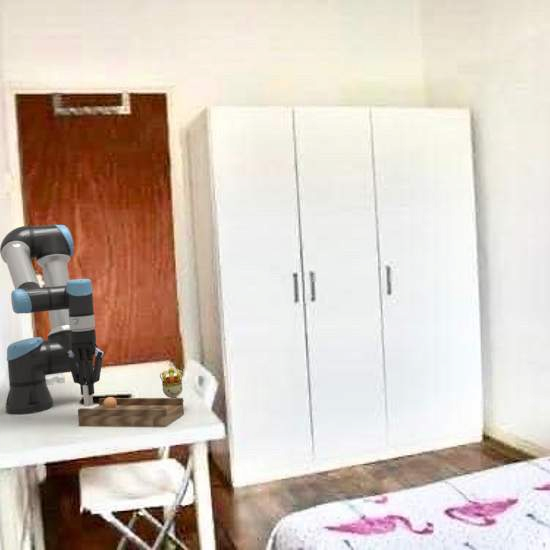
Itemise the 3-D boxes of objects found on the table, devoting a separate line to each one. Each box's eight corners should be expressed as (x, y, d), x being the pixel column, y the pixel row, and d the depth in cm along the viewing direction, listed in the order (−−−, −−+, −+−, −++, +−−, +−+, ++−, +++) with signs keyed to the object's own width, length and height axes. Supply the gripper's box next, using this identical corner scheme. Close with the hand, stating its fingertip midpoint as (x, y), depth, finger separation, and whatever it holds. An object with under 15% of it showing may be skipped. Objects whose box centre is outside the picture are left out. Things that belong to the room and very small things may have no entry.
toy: (166, 414, 214) (163, 366, 213) (159, 409, 221) (156, 363, 220) (188, 410, 217) (185, 363, 217) (180, 405, 224) (177, 360, 223)
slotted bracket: (65, 383, 274) (63, 364, 274) (47, 386, 272) (45, 366, 271) (61, 378, 286) (59, 359, 286) (43, 380, 283) (42, 361, 283)
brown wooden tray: (78, 425, 206) (77, 409, 206) (101, 413, 220) (100, 398, 220) (165, 426, 200) (164, 409, 199) (183, 413, 213) (182, 397, 213)
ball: (101, 411, 210) (100, 398, 210) (107, 408, 214) (106, 395, 214) (113, 411, 209) (112, 398, 209) (119, 408, 213) (118, 395, 213)
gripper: (57, 331, 210) (63, 408, 211) (95, 330, 206) (101, 408, 208) (70, 328, 217) (76, 402, 218) (107, 327, 214) (113, 402, 215)
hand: (88, 405), depth 213 cm, fingers closed
